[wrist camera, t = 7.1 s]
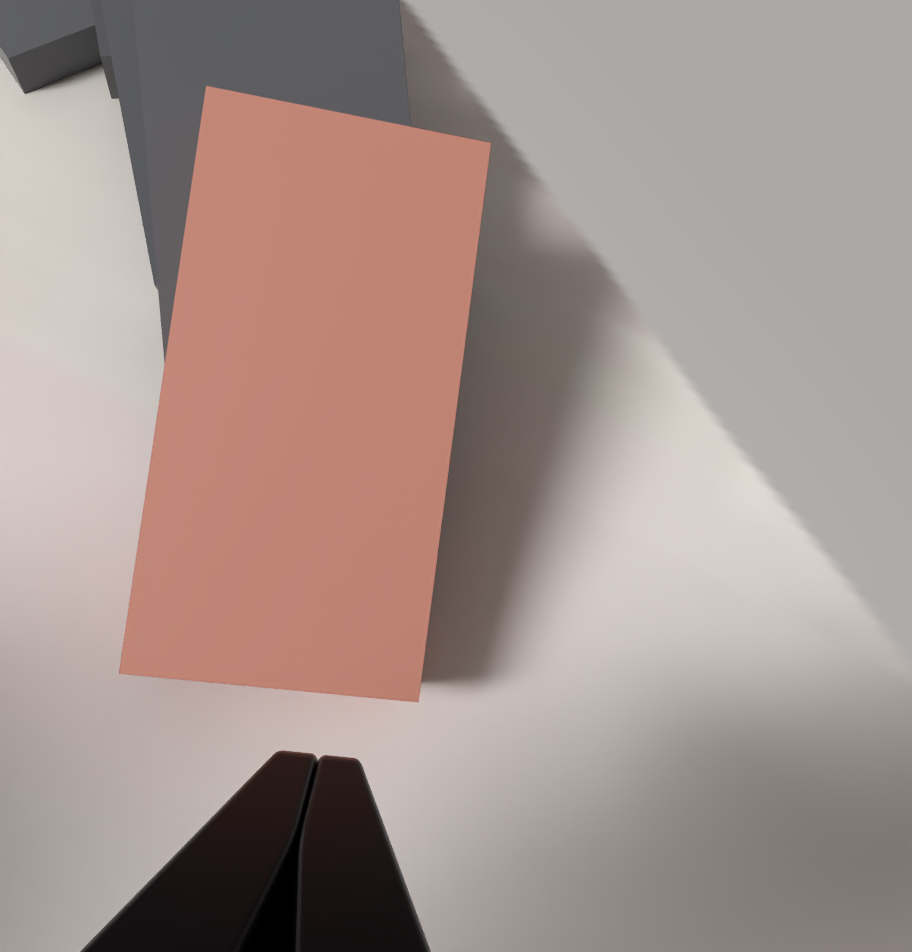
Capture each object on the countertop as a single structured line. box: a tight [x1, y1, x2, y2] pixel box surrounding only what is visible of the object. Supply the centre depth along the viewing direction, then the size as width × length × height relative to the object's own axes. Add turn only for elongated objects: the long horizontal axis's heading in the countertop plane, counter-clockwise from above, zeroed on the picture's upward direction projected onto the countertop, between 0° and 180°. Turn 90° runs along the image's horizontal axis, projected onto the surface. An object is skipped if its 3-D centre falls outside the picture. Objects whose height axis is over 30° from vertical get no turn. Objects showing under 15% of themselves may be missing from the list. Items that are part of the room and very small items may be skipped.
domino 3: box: [100, 0, 158, 289], centre depth 19 cm, size 2×5×10 cm
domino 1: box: [119, 86, 491, 702], centre depth 16 cm, size 2×5×10 cm
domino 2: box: [133, 0, 411, 360], centre depth 17 cm, size 2×5×10 cm
